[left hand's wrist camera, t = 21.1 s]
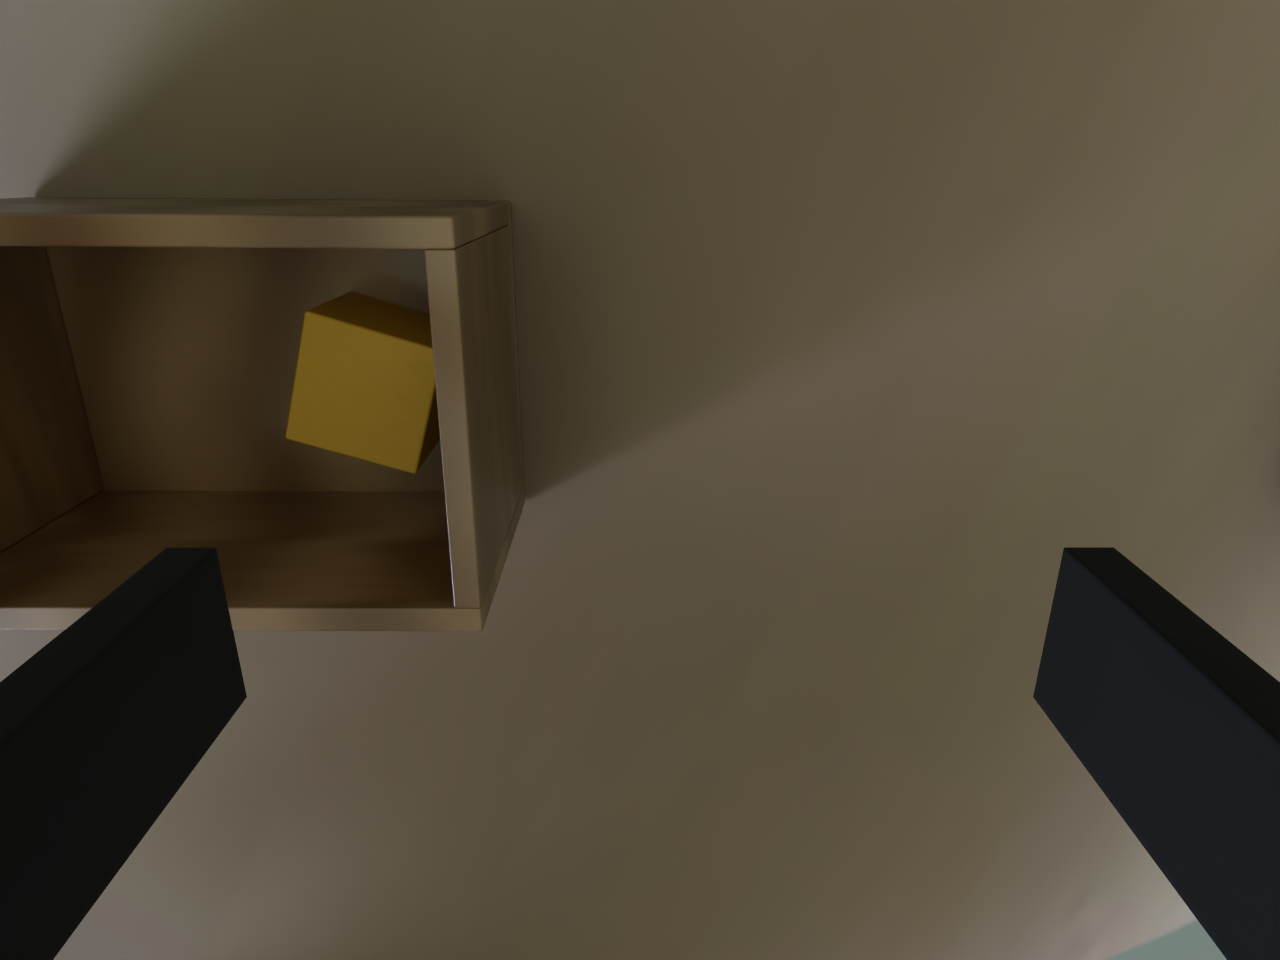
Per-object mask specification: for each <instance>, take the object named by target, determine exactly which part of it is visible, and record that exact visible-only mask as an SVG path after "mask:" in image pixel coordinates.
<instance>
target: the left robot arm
mask: <svg viewBox="0 0 1280 960" xmlns="http://www.w3.org/2000/svg"><path fill="white" fill-rule="evenodd" d="M246 697H247V696H246V691H245V686H244V682H243V677H242V672H241V667H240V662H239V657H238V652H237V648H236V643H235V638H234V633H233V628H232V623H231V618H230V614H229V609H228V604H227V599H226V594H225V589H224V584H223V579H222V575H221V570H220V565H219V560H218V555H217V550H216V548H165V549H164V550H163V551H162V552H161V553H159V554H158V555H157V556H156V557H154V558H153V559H152V560H151V561H149V562H148V563H147V564H146V565H144V566H143V567H142V568H141V569H140V570H138V571H137V572H136V573H135V574H133V575H132V576H131V577H130V578H128V579H127V580H126V581H125V582H124V583H122V584H121V585H120V586H119V587H117V588H116V589H115V590H114V591H112V592H111V593H110V594H109V595H107V596H106V597H105V598H104V599H103V600H101V601H100V602H99V603H98V604H96V605H95V606H94V607H93V608H91V609H90V610H89V611H88V612H87V613H85V614H84V615H83V616H82V617H80V618H79V619H78V620H77V621H75V622H74V623H73V624H72V625H70V626H69V627H68V628H67V629H66V630H64V631H63V632H62V633H61V634H59V635H58V636H57V637H56V638H54V639H53V640H52V641H51V642H50V643H48V644H47V645H46V646H45V647H43V648H42V649H41V650H40V651H38V652H37V653H36V654H35V655H33V656H32V657H31V658H30V659H29V660H27V661H26V662H25V663H24V664H22V665H21V666H20V667H19V668H17V669H16V670H15V671H14V672H13V673H11V674H10V675H9V676H8V677H6V678H5V679H4V680H3V681H1V682H0V960H53V959H54V957H55V956H56V955H57V953H58V952H59V951H60V949H61V948H62V947H63V945H64V944H65V943H66V941H67V940H68V938H69V937H70V936H71V934H72V933H73V932H74V930H75V929H76V928H77V926H78V925H79V924H80V922H81V921H82V920H83V918H84V917H85V915H86V914H87V913H88V911H89V910H90V909H91V907H92V906H93V905H94V903H95V902H96V901H97V899H98V898H99V896H100V895H101V894H102V892H103V891H104V890H105V888H106V887H107V886H108V884H109V883H110V882H111V880H112V879H113V877H114V876H115V875H116V873H117V872H118V871H119V869H120V868H121V867H122V865H123V864H124V863H125V861H126V860H127V859H128V857H129V856H130V854H131V853H132V852H133V850H134V849H135V848H136V846H137V845H138V844H139V842H140V841H141V840H142V838H143V837H144V835H145V834H146V833H147V831H148V830H149V829H150V827H151V826H152V825H153V823H154V822H155V821H156V819H157V818H158V816H159V815H160V814H161V812H162V811H163V810H164V808H165V807H166V806H167V804H168V803H169V802H170V800H171V799H172V798H173V796H174V795H175V793H176V792H177V791H178V789H179V788H180V787H181V785H182V784H183V783H184V781H185V780H186V779H187V777H188V776H189V774H190V773H191V772H192V770H193V769H194V768H195V766H196V765H197V764H198V762H199V761H200V760H201V758H202V757H203V755H204V754H205V753H206V751H207V750H208V749H209V747H210V746H211V745H212V743H213V742H214V741H215V739H216V738H217V736H218V735H219V734H220V732H221V731H222V730H223V728H224V727H225V726H226V724H227V723H228V722H229V720H230V719H231V718H232V716H233V715H234V713H235V712H236V711H237V709H238V708H239V707H240V705H241V704H242V703H243V701H244V700H245V699H246ZM1033 697H1034V699H1035V700H1036V701H1037V703H1038V704H1039V705H1040V707H1041V708H1042V709H1043V711H1044V712H1045V713H1046V715H1047V716H1048V718H1049V719H1050V720H1051V722H1052V723H1053V724H1054V726H1055V727H1056V728H1057V730H1058V731H1059V732H1060V734H1061V735H1062V736H1063V738H1064V739H1065V741H1066V742H1067V743H1068V745H1069V746H1070V747H1071V749H1072V750H1073V751H1074V753H1075V754H1076V755H1077V757H1078V758H1079V760H1080V761H1081V762H1082V764H1083V765H1084V766H1085V768H1086V769H1087V770H1088V772H1089V773H1090V774H1091V776H1092V777H1093V779H1094V780H1095V781H1096V783H1097V784H1098V785H1099V787H1100V788H1101V789H1102V791H1103V792H1104V793H1105V795H1106V796H1107V797H1108V799H1109V800H1110V802H1111V803H1112V804H1113V806H1114V807H1115V808H1116V810H1117V811H1118V812H1119V814H1120V815H1121V816H1122V818H1123V819H1124V821H1125V822H1126V823H1127V825H1128V826H1129V827H1130V829H1131V830H1132V831H1133V833H1134V834H1135V835H1136V837H1137V838H1138V840H1139V841H1140V842H1141V844H1142V845H1143V846H1144V848H1145V849H1146V850H1147V852H1148V853H1149V854H1150V856H1151V857H1152V859H1153V860H1154V861H1155V863H1156V864H1157V865H1158V867H1159V868H1160V869H1161V871H1162V872H1163V873H1164V875H1165V876H1166V877H1167V879H1168V880H1169V882H1170V883H1171V884H1172V886H1173V887H1174V888H1175V890H1176V891H1177V892H1178V894H1179V895H1180V896H1181V898H1182V899H1183V901H1184V902H1185V903H1186V905H1187V906H1188V907H1189V909H1190V910H1191V911H1192V913H1193V914H1194V915H1195V917H1196V918H1197V920H1198V921H1199V922H1200V924H1201V925H1202V926H1203V928H1204V929H1205V930H1206V932H1207V933H1208V934H1209V936H1210V937H1211V938H1212V940H1213V941H1214V943H1215V944H1216V945H1217V947H1218V948H1219V949H1220V951H1221V952H1222V953H1223V955H1224V956H1225V957H1226V959H1227V960H1280V682H1279V681H1277V680H1276V679H1275V678H1274V677H1272V676H1271V675H1270V674H1269V673H1267V672H1266V671H1265V670H1264V669H1263V668H1261V667H1260V666H1259V665H1258V664H1256V663H1255V662H1254V661H1253V660H1251V659H1250V658H1249V657H1248V656H1247V655H1245V654H1244V653H1243V652H1242V651H1240V650H1239V649H1238V648H1237V647H1235V646H1234V645H1233V644H1232V643H1230V642H1229V641H1228V640H1227V639H1226V638H1224V637H1223V636H1222V635H1221V634H1219V633H1218V632H1217V631H1216V630H1214V629H1213V628H1212V627H1211V626H1210V625H1208V624H1207V623H1206V622H1205V621H1203V620H1202V619H1201V618H1200V617H1198V616H1197V615H1196V614H1195V613H1193V612H1192V611H1191V610H1190V609H1189V608H1187V607H1186V606H1185V605H1184V604H1182V603H1181V602H1180V601H1179V600H1177V599H1176V598H1175V597H1174V596H1173V595H1171V594H1170V593H1169V592H1168V591H1166V590H1165V589H1164V588H1163V587H1161V586H1160V585H1159V584H1158V583H1156V582H1155V581H1154V580H1153V579H1152V578H1150V577H1149V576H1148V575H1147V574H1145V573H1144V572H1143V571H1142V570H1140V569H1139V568H1138V567H1137V566H1136V565H1134V564H1133V563H1132V562H1131V561H1129V560H1128V559H1127V558H1126V557H1124V556H1123V555H1122V554H1121V553H1119V552H1118V551H1117V550H1116V549H1115V548H1064V550H1063V555H1062V560H1061V565H1060V570H1059V575H1058V579H1057V584H1056V589H1055V594H1054V599H1053V604H1052V609H1051V614H1050V618H1049V623H1048V628H1047V633H1046V638H1045V643H1044V648H1043V652H1042V657H1041V662H1040V667H1039V672H1038V677H1037V682H1036V686H1035V691H1034V696H1033Z"/></svg>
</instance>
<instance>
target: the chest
mask: <svg viewBox="0 0 1280 960" xmlns="http://www.w3.org/2000/svg"><path fill="white" fill-rule="evenodd" d="M348 292H355V293H359V294H362V295H365V296H369V297H372V298H376V299H379V300H382V301H386V302H389V303H392V304H396V305H399V306H403V307H406V308H409V309H413V310H416V311H419V312H423V313H426V314H430V324H431V336H432V348H433V360H434V372H435V384H436V396H437V408H438V420H439V432H440V441H439V442H438V443H437V445H436V446H435V448H434V449H433V450H432V452H431V453H430V455H429V456H428V457H427V459H426V460H425V462H424V463H423V464H422V466H421V467H420V469H419V470H418V471H417V473H416V474H413V473H409V472H406V471H402V470H398V469H395V468H391V467H387V466H384V465H380V464H376V463H373V462H369V461H365V460H362V459H358V458H355V457H351V456H347V455H344V454H340V453H336V452H333V451H329V450H325V449H322V448H318V447H314V446H311V445H307V444H304V443H300V442H296V441H293V440H289V439H286V437H285V435H286V429H287V422H288V416H289V410H290V403H291V397H292V391H293V384H294V378H295V372H296V365H297V359H298V353H299V347H300V340H301V334H302V328H303V321H304V315H305V312H306V311H307V310H309V309H311V308H314V307H316V306H318V305H321V304H323V303H325V302H327V301H330V300H332V299H334V298H337V297H339V296H341V295H344V294H346V293H348ZM524 502H525V497H524V476H523V454H522V433H521V411H520V390H519V369H518V347H517V326H516V304H515V283H514V261H513V240H512V218H511V203H510V201H453V200H312V199H170V198H29V197H28V198H8V199H0V630H66V629H67V628H68V627H69V626H70V625H72V624H73V623H74V622H75V621H77V620H78V619H79V618H80V617H82V616H83V615H84V614H85V613H87V612H88V611H89V610H90V609H91V608H93V607H94V606H95V605H96V604H98V603H99V602H100V601H101V600H103V599H104V598H105V597H106V596H107V595H109V594H110V593H111V592H112V591H114V590H115V589H116V588H117V587H119V586H120V585H121V584H122V583H124V582H125V581H126V580H127V579H128V578H130V577H131V576H132V575H133V574H135V573H136V572H137V571H138V570H140V569H141V568H142V567H143V566H144V565H146V564H147V563H148V562H149V561H151V560H152V559H153V558H154V557H156V556H157V555H158V554H159V553H161V552H162V551H163V550H164V549H165V548H216V550H217V555H218V560H219V565H220V570H221V575H222V579H223V584H224V589H225V594H226V599H227V604H228V609H229V614H230V618H231V623H232V628H233V630H235V631H482V630H483V627H484V624H485V621H486V618H487V615H488V612H489V609H490V606H491V603H492V600H493V597H494V594H495V591H496V588H497V585H498V582H499V579H500V576H501V573H502V570H503V567H504V564H505V561H506V558H507V555H508V551H509V548H510V545H511V542H512V539H513V536H514V533H515V530H516V527H517V524H518V521H519V518H520V515H521V512H522V508H523V505H524Z"/></svg>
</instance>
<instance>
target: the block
mask: <svg viewBox="0 0 1280 960" xmlns="http://www.w3.org/2000/svg"><path fill="white" fill-rule="evenodd" d="M285 437H286V439H289V440H293V441H296V442H300V443H304V444H307V445H311V446H314V447H318V448H322V449H325V450H329V451H333V452H336V453H340V454H344V455H347V456H351V457H355V458H358V459H362V460H365V461H369V462H373V463H376V464H380V465H384V466H387V467H391V468H395V469H398V470H402V471H406V472H409V473H413V474H416V473H417V471H418V470H419V469H420V467H421V466H422V464H423V463H424V462H425V460H426V459H427V457H428V456H429V455H430V453H431V452H432V450H433V449H434V448H435V446H436V445H437V443H438V442H439V441H440V432H439V420H438V408H437V396H436V384H435V372H434V360H433V348H432V336H431V324H430V314H426V313H423V312H419V311H416V310H413V309H409V308H406V307H403V306H399V305H396V304H392V303H389V302H386V301H382V300H379V299H376V298H372V297H369V296H365V295H362V294H359V293H355V292H348V293H346V294H344V295H341V296H339V297H337V298H334V299H332V300H330V301H327V302H325V303H323V304H321V305H318V306H316V307H314V308H311V309H309V310H307V311H306V312H305V315H304V321H303V328H302V334H301V340H300V347H299V353H298V359H297V365H296V372H295V378H294V384H293V391H292V397H291V403H290V410H289V416H288V422H287V429H286V435H285Z"/></svg>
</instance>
